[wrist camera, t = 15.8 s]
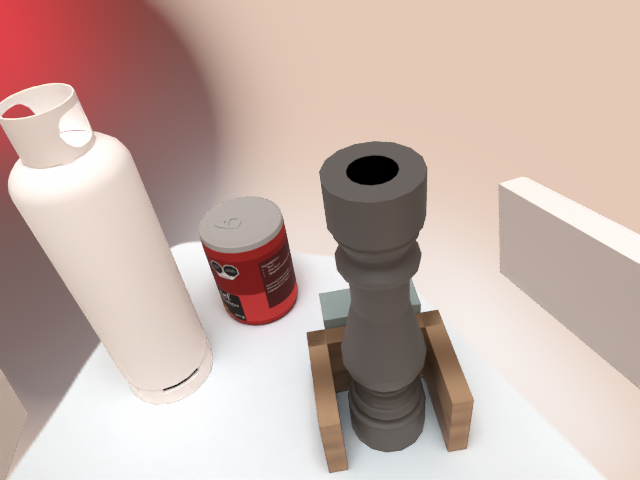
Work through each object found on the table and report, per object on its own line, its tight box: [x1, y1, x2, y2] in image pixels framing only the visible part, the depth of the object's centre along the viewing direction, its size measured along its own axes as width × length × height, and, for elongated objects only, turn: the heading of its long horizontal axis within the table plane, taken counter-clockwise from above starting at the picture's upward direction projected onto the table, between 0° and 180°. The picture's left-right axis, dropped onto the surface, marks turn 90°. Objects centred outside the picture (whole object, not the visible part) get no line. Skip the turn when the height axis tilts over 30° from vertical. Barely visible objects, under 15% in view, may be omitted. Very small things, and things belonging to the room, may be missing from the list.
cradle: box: [307, 310, 474, 473], centre depth 42 cm, size 8×11×7 cm
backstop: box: [319, 279, 421, 329], centre depth 46 cm, size 3×8×8 cm, turn 97°
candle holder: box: [319, 141, 427, 452], centre depth 36 cm, size 6×6×25 cm
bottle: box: [0, 83, 213, 405], centre depth 41 cm, size 8×8×28 cm
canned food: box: [198, 197, 297, 325], centre depth 52 cm, size 8×8×11 cm
